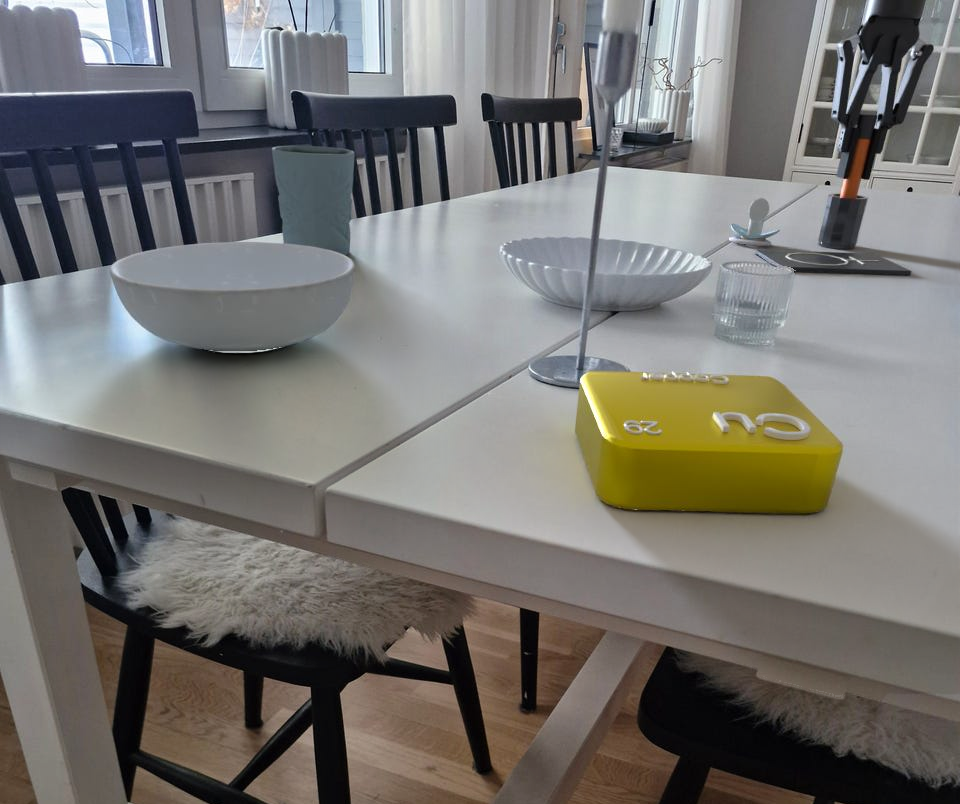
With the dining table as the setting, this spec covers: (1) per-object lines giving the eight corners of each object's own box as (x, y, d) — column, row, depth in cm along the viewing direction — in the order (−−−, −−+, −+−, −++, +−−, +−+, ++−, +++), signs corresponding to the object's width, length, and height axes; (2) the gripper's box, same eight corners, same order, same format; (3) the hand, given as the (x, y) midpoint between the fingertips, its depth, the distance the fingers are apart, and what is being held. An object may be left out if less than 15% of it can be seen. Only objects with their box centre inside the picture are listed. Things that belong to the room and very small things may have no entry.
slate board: (873, 257, 132) (874, 252, 131) (910, 275, 122) (912, 270, 121) (754, 253, 130) (755, 248, 130) (781, 271, 120) (782, 265, 120)
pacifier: (769, 250, 134) (779, 243, 138) (778, 205, 130) (788, 199, 134) (721, 244, 136) (732, 238, 141) (729, 199, 133) (740, 194, 137)
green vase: (263, 251, 117) (254, 147, 111) (317, 241, 124) (311, 143, 118) (320, 263, 113) (315, 155, 106) (373, 252, 120) (370, 150, 113)
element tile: (765, 430, 68) (779, 368, 66) (837, 517, 56) (858, 444, 53) (570, 425, 68) (577, 361, 65) (599, 511, 55) (608, 437, 53)
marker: (849, 212, 137) (872, 114, 130) (856, 214, 135) (880, 115, 128) (832, 211, 137) (855, 113, 130) (839, 214, 135) (863, 114, 128)
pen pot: (846, 243, 141) (858, 194, 138) (861, 249, 137) (874, 199, 133) (812, 241, 141) (823, 192, 137) (825, 248, 136) (837, 198, 132)
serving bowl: (249, 302, 95) (242, 232, 91) (402, 340, 85) (401, 263, 81) (74, 342, 80) (57, 260, 76) (234, 393, 71) (224, 302, 67)
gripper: (942, -12, 124) (892, 177, 137) (833, -19, 123) (793, 172, 136) (970, -15, 118) (914, 183, 131) (855, -22, 117) (811, 179, 130)
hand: (852, 177), depth 134 cm, fingers closed on marker, 3 cm apart
